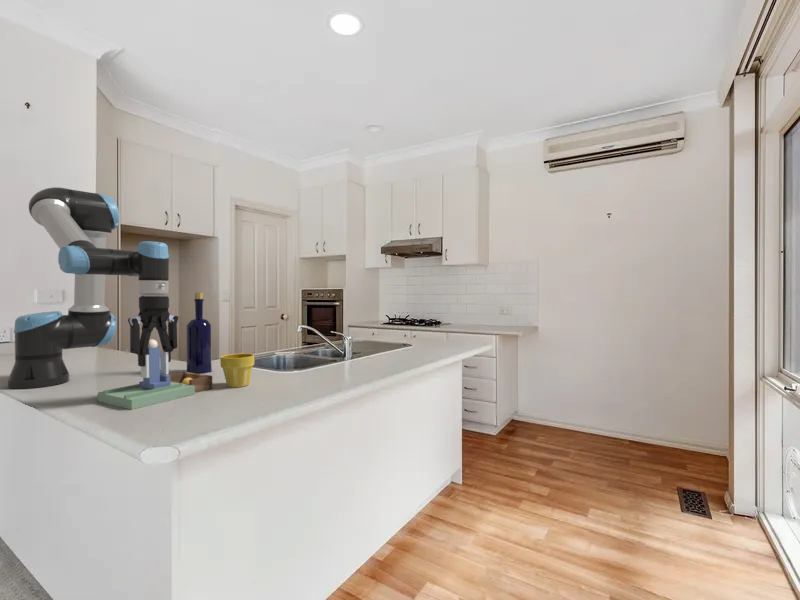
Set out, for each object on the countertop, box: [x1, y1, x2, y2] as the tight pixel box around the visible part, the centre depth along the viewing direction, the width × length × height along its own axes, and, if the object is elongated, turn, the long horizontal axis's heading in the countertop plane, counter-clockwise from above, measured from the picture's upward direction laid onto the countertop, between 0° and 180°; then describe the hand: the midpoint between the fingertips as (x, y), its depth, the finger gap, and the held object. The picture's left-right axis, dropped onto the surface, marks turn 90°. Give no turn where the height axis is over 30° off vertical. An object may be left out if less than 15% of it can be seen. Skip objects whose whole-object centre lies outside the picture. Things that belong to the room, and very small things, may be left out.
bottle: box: [186, 292, 213, 375], centre depth 155 cm, size 9×9×30 cm
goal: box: [168, 371, 213, 393], centre depth 129 cm, size 13×7×4 cm, turn 63°
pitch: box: [97, 382, 195, 410], centre depth 118 cm, size 16×18×3 cm
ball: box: [182, 377, 192, 385], centre depth 129 cm, size 4×4×4 cm
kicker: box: [138, 338, 170, 389], centre depth 119 cm, size 7×5×14 cm
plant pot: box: [219, 352, 255, 388], centre depth 133 cm, size 10×10×10 cm
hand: (155, 375), depth 119 cm, fingers closed on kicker, 5 cm apart
